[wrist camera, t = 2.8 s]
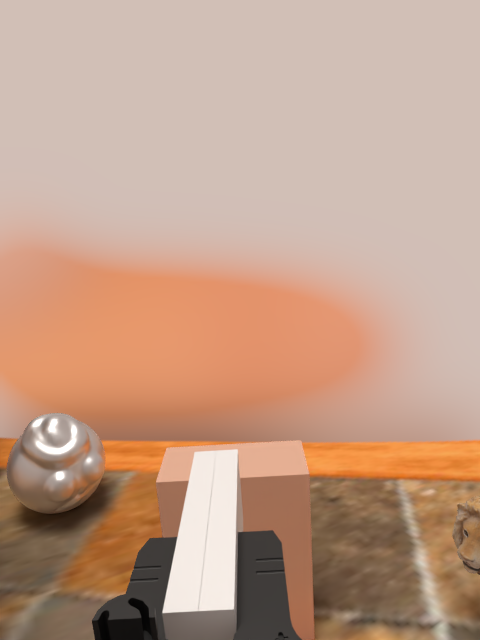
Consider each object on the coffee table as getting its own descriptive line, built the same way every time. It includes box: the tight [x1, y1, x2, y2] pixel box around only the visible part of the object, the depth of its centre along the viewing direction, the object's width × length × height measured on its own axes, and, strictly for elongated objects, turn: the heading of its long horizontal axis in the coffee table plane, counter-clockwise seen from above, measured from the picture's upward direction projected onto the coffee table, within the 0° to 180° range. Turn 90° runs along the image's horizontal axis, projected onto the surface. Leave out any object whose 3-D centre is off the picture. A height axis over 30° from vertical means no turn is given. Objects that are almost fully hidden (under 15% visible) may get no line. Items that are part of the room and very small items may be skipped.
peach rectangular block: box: [156, 440, 315, 640], centre depth 30 cm, size 4×9×12 cm, turn 90°
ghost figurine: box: [7, 413, 105, 514], centre depth 44 cm, size 9×9×10 cm
